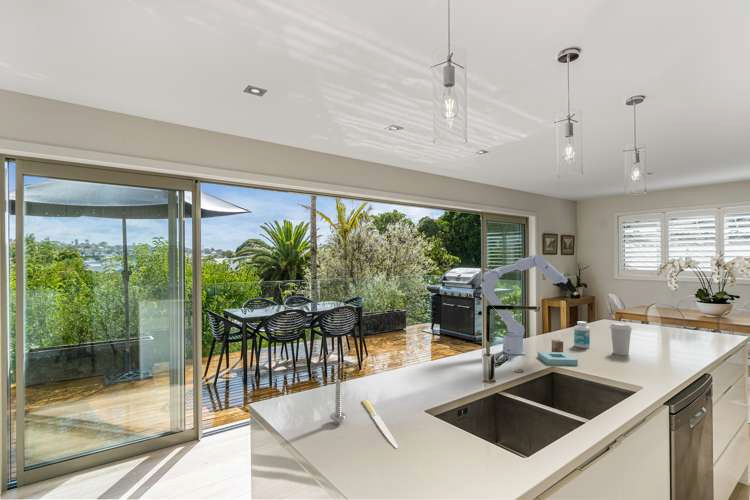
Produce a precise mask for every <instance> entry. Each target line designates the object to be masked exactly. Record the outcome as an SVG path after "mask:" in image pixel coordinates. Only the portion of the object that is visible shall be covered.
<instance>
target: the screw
mask: <svg viewBox="0 0 750 500" xmlns="http://www.w3.org/2000/svg"><path fill="white" fill-rule="evenodd" d="M334 391H335V394H334V395H335V396H334V397H335V398H334V401H335V402H334V409H335V410H334V411H335V412H333V413H331V414H330V415H329V419H330V420H332V421H333V424H334V425H337V426H339V425H341V424H343V423H344V422H343V420H345V419H346V418H347V415H346V414H345V412H343V411H342V388H341V380H340V379H337V380H335V390H334Z"/></svg>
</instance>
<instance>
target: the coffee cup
mask: <svg viewBox="0 0 750 500" xmlns="http://www.w3.org/2000/svg"><path fill="white" fill-rule="evenodd" d="M609 328H610V332H611V341H612V352H613V354H614V355H619V356H629V353H630V345H631V344H630V343H631V335H632V334H631V333H632V330H633V327H632V326H631V324H630V323H627V322H611V324H610V325H609Z"/></svg>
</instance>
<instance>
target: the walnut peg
mask: <svg viewBox="0 0 750 500" xmlns="http://www.w3.org/2000/svg"><path fill="white" fill-rule="evenodd" d="M551 352H564V341H563V340H561V339H551Z"/></svg>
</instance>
